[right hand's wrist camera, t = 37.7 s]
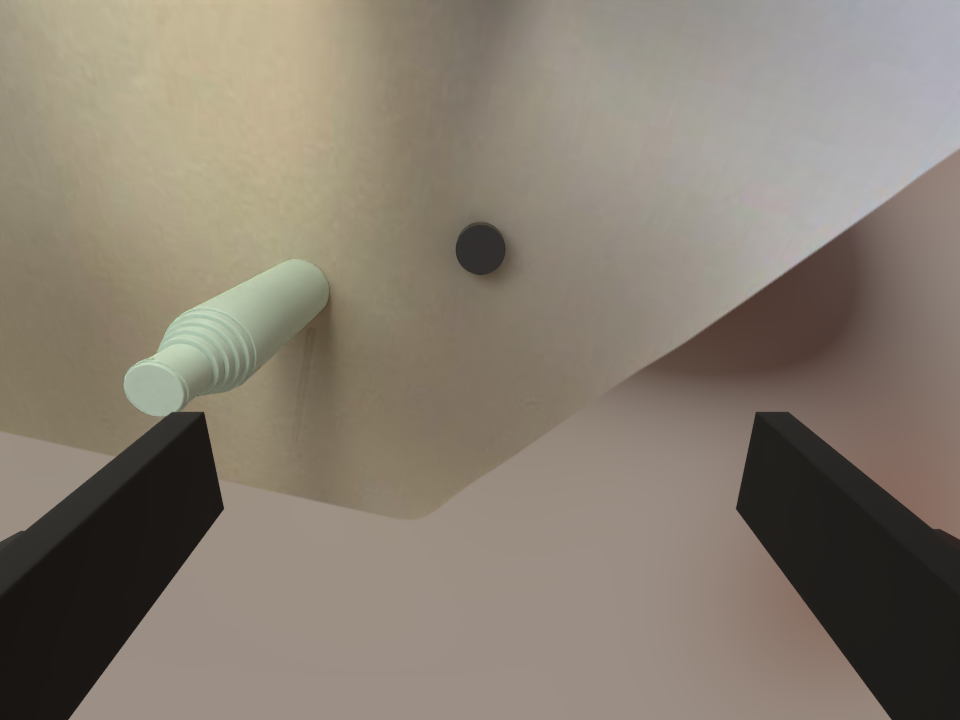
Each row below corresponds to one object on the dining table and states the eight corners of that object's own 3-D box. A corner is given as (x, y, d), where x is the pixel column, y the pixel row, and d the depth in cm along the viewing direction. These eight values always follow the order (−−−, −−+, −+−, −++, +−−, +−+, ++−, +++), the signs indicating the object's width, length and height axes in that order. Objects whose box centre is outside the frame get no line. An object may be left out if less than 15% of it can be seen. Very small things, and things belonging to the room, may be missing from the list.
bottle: (311, 249, 46) (167, 323, 25) (340, 303, 48) (229, 416, 26) (258, 273, 47) (75, 364, 25) (289, 326, 48) (141, 452, 27)
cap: (455, 223, 45) (454, 226, 43) (503, 220, 45) (504, 223, 43) (458, 271, 46) (457, 276, 44) (505, 268, 46) (506, 273, 44)
